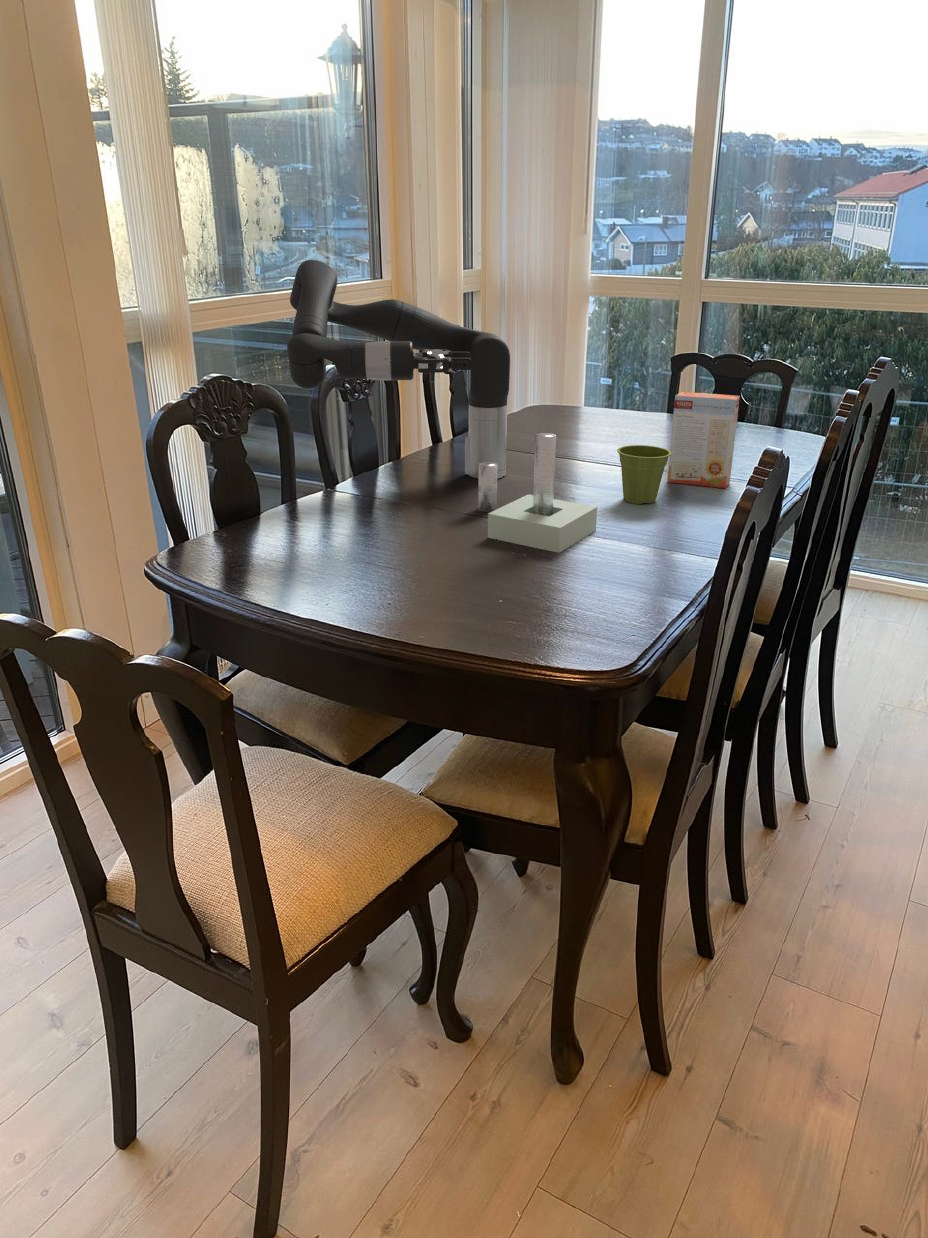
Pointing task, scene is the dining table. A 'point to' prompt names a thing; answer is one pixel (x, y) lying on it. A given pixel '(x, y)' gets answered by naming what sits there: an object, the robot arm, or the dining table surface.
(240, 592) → the dining table surface
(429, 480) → the dining table surface
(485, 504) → the short steel pin
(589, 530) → the hole block
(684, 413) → the cracker box
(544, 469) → the long steel pin
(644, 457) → the plant pot
